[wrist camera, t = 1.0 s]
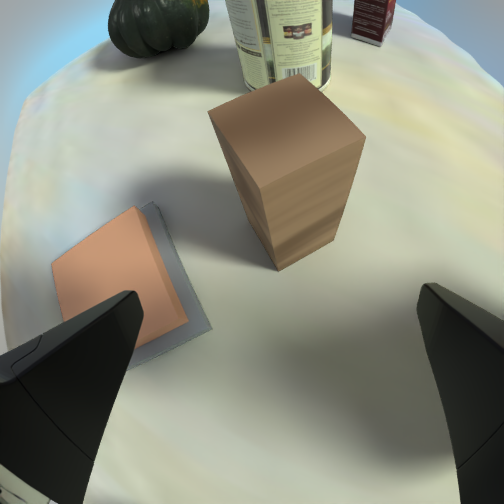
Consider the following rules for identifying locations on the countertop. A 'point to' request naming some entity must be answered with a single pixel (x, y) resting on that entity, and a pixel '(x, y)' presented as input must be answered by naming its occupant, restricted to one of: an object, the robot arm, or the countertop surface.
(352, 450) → the countertop surface
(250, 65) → the coffee can
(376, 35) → the supplement box
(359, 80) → the countertop surface
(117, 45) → the squash
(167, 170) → the countertop surface
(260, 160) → the walnut block
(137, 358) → the bottom slab
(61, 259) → the top slab
